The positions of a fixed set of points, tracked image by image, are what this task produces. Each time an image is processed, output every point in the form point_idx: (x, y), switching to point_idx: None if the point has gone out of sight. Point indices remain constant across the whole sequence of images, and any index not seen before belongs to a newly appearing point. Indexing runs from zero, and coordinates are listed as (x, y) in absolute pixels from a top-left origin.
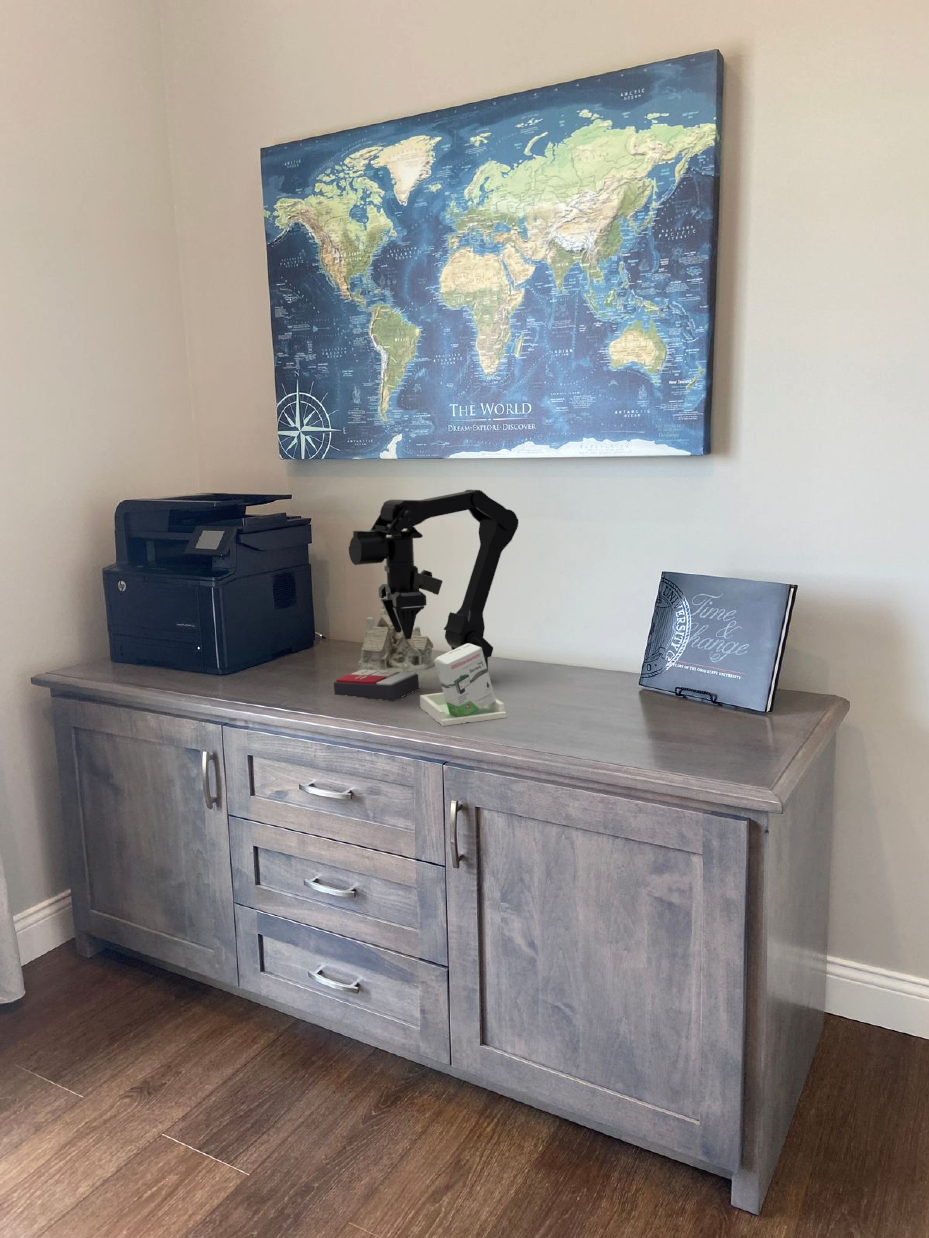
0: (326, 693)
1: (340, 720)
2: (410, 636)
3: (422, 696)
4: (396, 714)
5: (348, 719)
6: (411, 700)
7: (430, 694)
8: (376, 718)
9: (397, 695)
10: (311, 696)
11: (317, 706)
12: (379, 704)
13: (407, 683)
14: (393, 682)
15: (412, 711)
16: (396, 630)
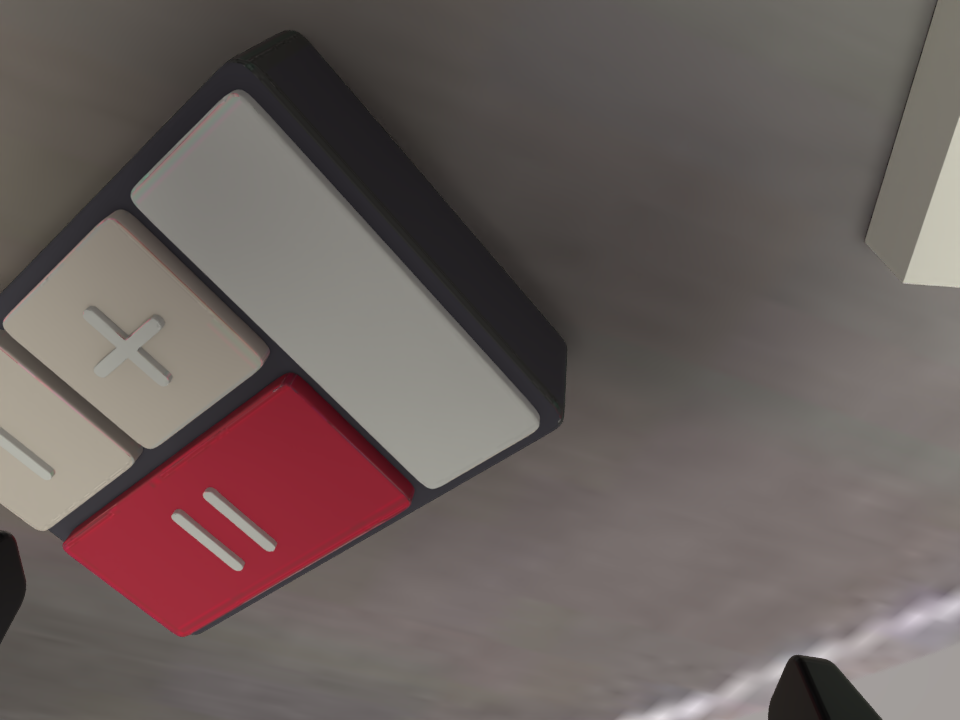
0: None
1: None
2: (860, 711)
3: (957, 277)
4: (902, 437)
5: None
6: (629, 229)
7: (948, 189)
8: (890, 553)
9: (530, 318)
10: (231, 672)
11: (450, 699)
12: (598, 448)
13: (412, 217)
14: (514, 396)
15: (918, 327)
16: (6, 618)
